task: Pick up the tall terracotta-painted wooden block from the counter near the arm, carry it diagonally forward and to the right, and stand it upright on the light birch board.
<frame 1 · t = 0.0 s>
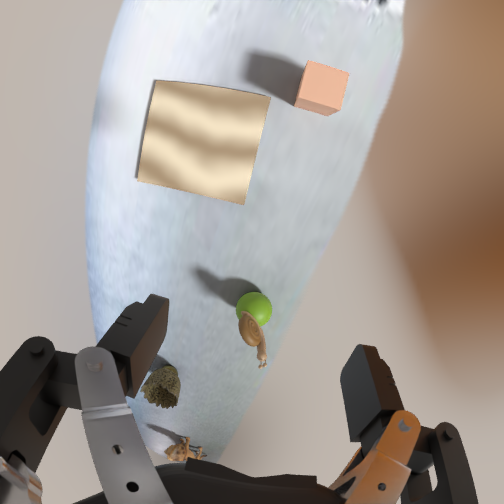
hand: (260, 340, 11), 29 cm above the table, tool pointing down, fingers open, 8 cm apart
lion figurine: (189, 442, 66), on the table
snail figurine: (257, 301, 45), on the table
birch board: (200, 138, 36), on the table
terracotta block: (314, 95, 32), on the table
cup: (170, 369, 53), on the table
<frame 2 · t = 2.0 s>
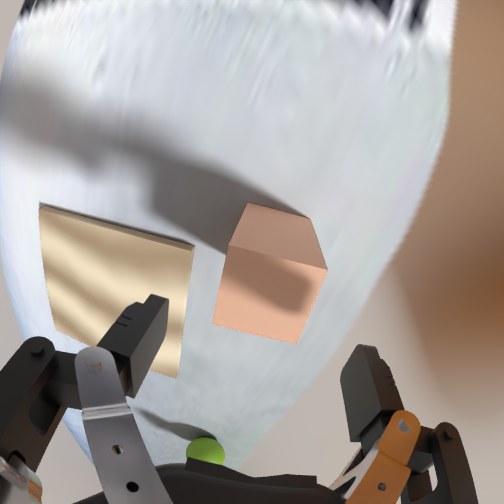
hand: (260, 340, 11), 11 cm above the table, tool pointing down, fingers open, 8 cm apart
snail figurine: (211, 440, 34), on the table
birch board: (108, 295, 24), on the table
terracotta block: (271, 239, 21), on the table
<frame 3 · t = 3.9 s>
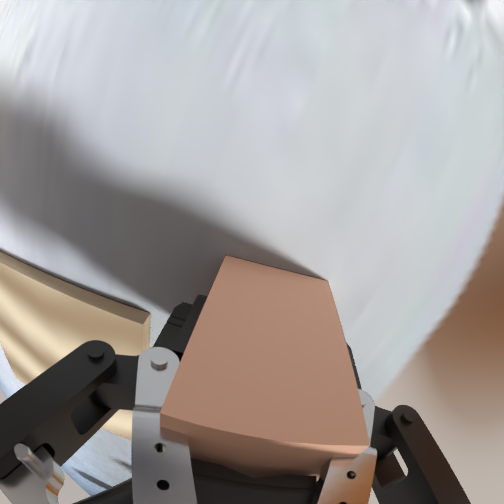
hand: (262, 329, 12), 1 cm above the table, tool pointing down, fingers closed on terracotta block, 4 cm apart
birch board: (58, 354, 17), on the table
terracotta block: (264, 311, 13), on the table, touching gripper
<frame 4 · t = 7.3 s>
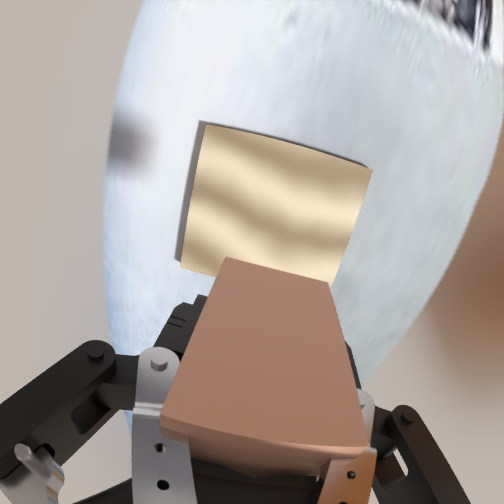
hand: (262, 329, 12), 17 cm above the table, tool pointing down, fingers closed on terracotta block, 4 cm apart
birch board: (271, 217, 28), on the table
terracotta block: (264, 312, 13), point 16 cm above the table, touching gripper
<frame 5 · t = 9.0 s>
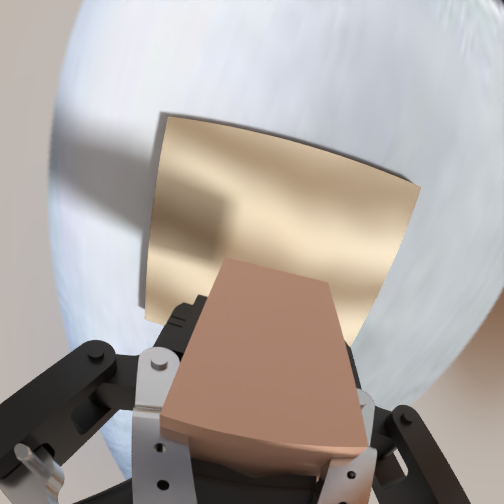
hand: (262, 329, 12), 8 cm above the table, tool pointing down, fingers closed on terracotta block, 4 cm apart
birch board: (269, 255, 19), on the table
terracotta block: (264, 312, 13), point 6 cm above the table, touching gripper
when the fingers open (4 cm above the table, at t = 10.6 s): terracotta block drops 1 cm, resting on birch board.
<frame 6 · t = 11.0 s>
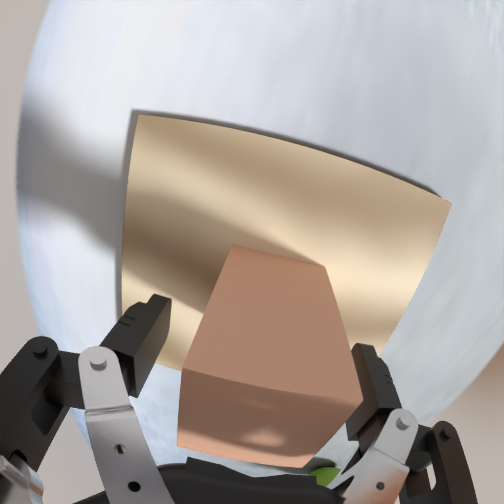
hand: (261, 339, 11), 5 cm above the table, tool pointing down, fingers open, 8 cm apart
snail figurine: (326, 468, 24), on the table
birch board: (266, 285, 15), on the table
terracotta block: (267, 295, 14), point 1 cm above the table, touching birch board
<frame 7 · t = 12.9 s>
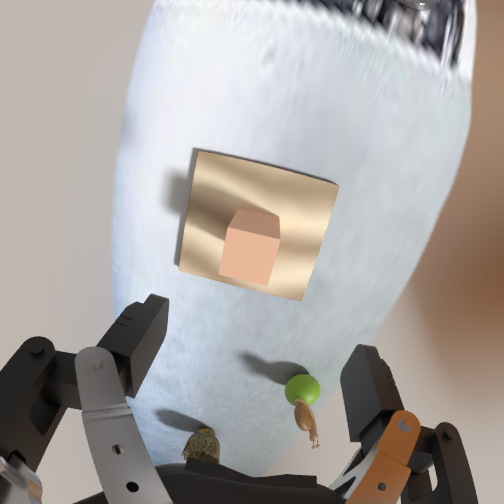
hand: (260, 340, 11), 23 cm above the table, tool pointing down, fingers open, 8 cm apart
snail figurine: (302, 379, 42), on the table
birch board: (254, 228, 33), on the table
terracotta block: (254, 230, 32), point 1 cm above the table, touching birch board
cup: (207, 429, 50), on the table
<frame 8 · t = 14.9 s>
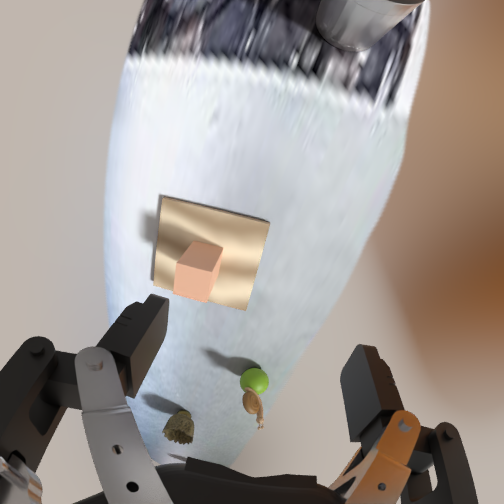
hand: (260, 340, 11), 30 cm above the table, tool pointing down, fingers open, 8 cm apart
snail figurine: (256, 372, 52), on the table
birch board: (206, 255, 43), on the table
terracotta block: (206, 258, 42), point 1 cm above the table, touching birch board
cup: (185, 412, 61), on the table
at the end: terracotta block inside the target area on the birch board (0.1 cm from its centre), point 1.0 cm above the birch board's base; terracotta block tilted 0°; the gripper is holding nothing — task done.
